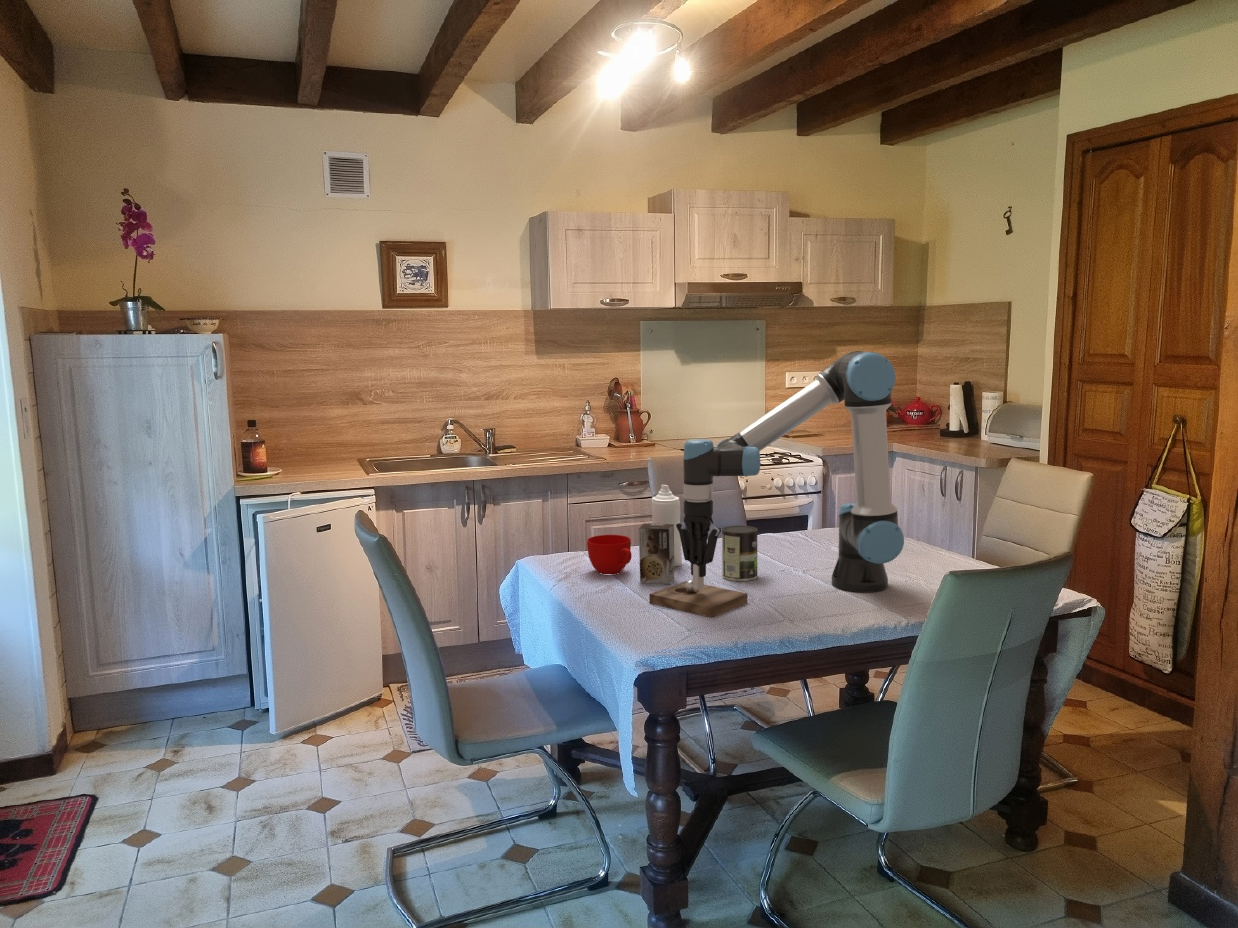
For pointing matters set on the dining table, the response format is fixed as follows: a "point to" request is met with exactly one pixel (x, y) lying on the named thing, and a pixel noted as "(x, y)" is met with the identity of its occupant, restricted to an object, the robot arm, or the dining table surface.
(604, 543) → the ceramic cup
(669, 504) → the spray can
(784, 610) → the dining table surface
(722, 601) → the wooden board
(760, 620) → the dining table surface
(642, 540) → the coffee box
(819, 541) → the dining table surface
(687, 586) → the steel ball
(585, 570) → the dining table surface
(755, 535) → the coffee can
